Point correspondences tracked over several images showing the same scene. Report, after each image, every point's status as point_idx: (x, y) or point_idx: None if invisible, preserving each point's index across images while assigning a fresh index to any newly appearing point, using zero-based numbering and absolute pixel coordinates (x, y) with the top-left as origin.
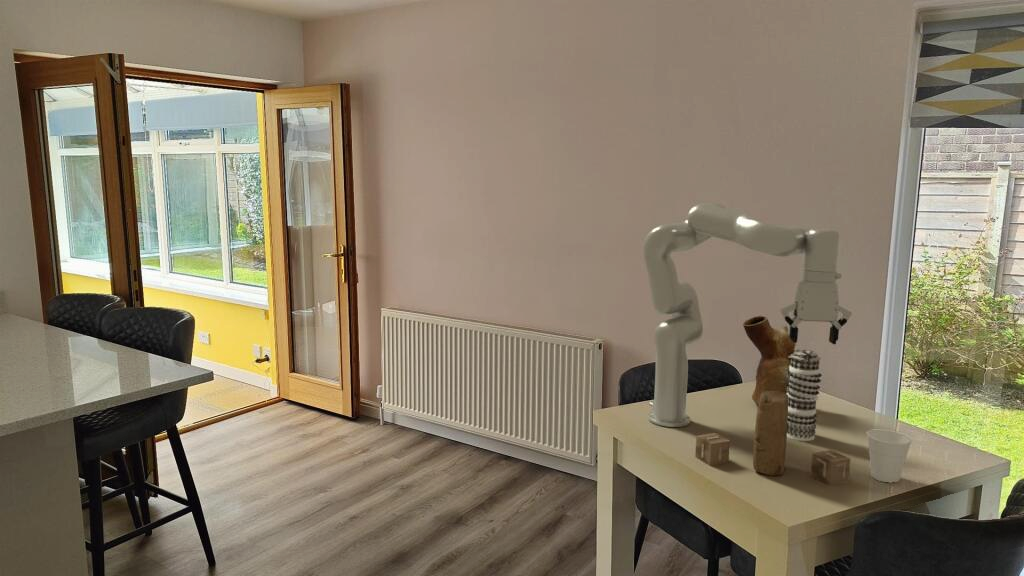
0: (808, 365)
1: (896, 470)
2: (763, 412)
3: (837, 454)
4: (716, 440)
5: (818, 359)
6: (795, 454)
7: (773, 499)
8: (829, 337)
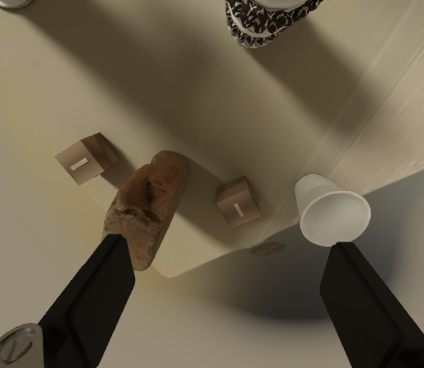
0: None
1: (318, 213)
2: None
3: (249, 204)
4: (85, 172)
5: None
6: (218, 119)
7: (161, 243)
8: (344, 263)
